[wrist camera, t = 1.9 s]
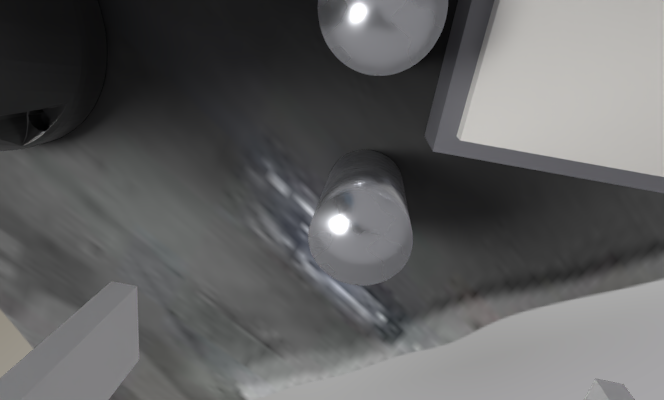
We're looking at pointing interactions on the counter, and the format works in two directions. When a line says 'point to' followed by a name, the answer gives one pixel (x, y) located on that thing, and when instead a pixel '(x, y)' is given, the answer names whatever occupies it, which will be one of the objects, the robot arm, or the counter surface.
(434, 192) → the counter surface
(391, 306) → the counter surface
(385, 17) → the cylinder
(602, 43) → the scale
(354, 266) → the cylinder
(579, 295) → the counter surface
